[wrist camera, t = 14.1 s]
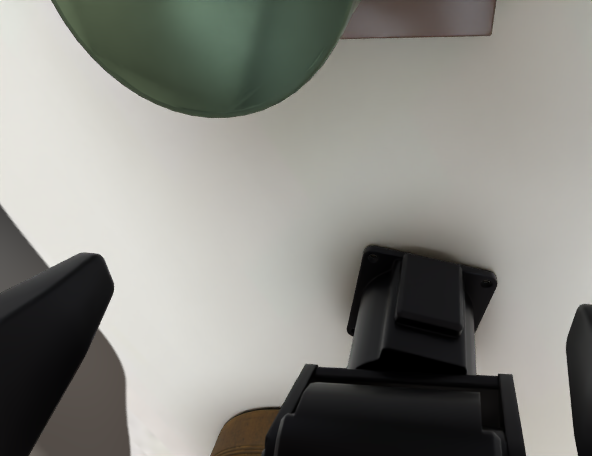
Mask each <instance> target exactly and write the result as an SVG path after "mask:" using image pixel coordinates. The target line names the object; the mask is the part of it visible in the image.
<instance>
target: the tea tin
mask: <svg viewBox="0 0 592 456" xmlns="http://www.w3.org/2000/svg"><path fill="white" fill-rule="evenodd" d="M51 1H52V3H53V4H54V6H55V8H56V9H57V11H58V13H59V15H60V16H61V18H62V20H63V21H64V23H65V24H66V26H67V27H68V28H69V30H70V31H71V33H72V34H73V35H74V37H75V38H76V40H77V41H78V42H79V43H80V44H81V45H82V47H83V48H84V49H85V50H86V51H87V53H88V54H89V55H90V56H91V57H92V58H93V59H94V60H95V61H96V62H97V63H98V64H99V65H100V66H101V67H102V68H103V69H104V70H105V71H106V72H107V73H109V74H110V75H111V76H112V77H114V78H115V79H116V80H117V81H119V82H120V83H121V84H122V85H124V86H125V87H127V88H128V89H130V90H131V91H133V92H135V93H136V94H138V95H139V96H141V97H143V98H145V99H147V100H149V101H151V102H153V103H155V104H157V105H159V106H162V107H164V108H167V109H170V110H172V111H175V112H179V113H183V114H187V115H191V116H199V117H207V118H230V117H237V116H244V115H248V114H252V113H255V112H259V111H262V110H265V109H267V108H269V107H271V106H273V105H276V104H278V103H280V102H281V101H283V100H285V99H286V98H288V97H289V96H291V95H292V94H294V93H295V92H297V91H298V90H299V89H300V88H301V87H302V86H303V85H305V84H306V83H307V82H308V81H309V80H310V79H311V78H312V77H313V76H314V75H315V74H316V72H317V71H318V70H319V69H320V68H321V67H322V65H323V64H324V63H325V61H326V60H327V58H328V57H329V55H330V54H331V52H332V51H333V49H334V48H335V46H336V44H337V43H338V41H339V40H340V38H341V36H342V34H343V32H344V30H345V28H346V26H347V24H348V22H349V20H350V18H351V16H352V14H353V12H354V11H355V9H356V8H357V6H358V5H359V3H360V1H361V0H51Z"/></svg>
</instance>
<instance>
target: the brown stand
mask: <svg viewBox="0 0 592 456" xmlns="http://www.w3.org/2000/svg"><path fill="white" fill-rule="evenodd" d="M495 7H496V0H361V1H360V3H359V5H358V6H357V8H356V9H355V11H354V12H353V14H352V16H351V18H350V20H349V22H348V24H347V26H346V28H345V30H344V32H343V34H342V36H341V38H340V39H368V38H415V37H463V36H490V35H491V34H492V28H493V21H494V14H495Z"/></svg>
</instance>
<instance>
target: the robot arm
mask: <svg viewBox="0 0 592 456" xmlns="http://www.w3.org/2000/svg"><path fill="white" fill-rule="evenodd" d="M370 255H376V256H377V257H371V256H370ZM484 280H488V281H490V282H487V283H486V282H482V281H484ZM496 287H497V278H496V275H495V274H494V273H493V272H490V271H486V270H482V269H477V268H473V267H468V266H464V265H459V264H455V263H450V262H446V261H441V260H437V259H432V258H428V257H423V256H419V255H414V254H410V253H405V252H401V251H396V250H392V249H387V248H383V247H378V246H369V247H367V248H365V250H364V253H363V258H362V262H361V267H360V271H359V276H358V280H357V285H356V290H355V294H354V299H353V303H352V308H351V312H350V317H349V321H348V326H347V332H348V334H350V335H351V336H353V342H352V346H351V351H350V356H349V361H348V366H347V368H331V367H318V365H314V364H305V366H304V368H303V369H302V371H301V373H300V375H299V377H298V378H297V380H296V382H295V383H294V385H293V387H292V389H291V391H290V392H289V394H288V396H287V398H286V400H285V401H284V403H283V405H282V407H281V409H280V410H279V412H278V414H277V416H276V417H275V419H274V421H273V423H272V425H271V427H270V428H269V430H268V432H267V434H266V437H265V449H264V450H263V451H262V454H261V456H526V452H525V446H524V439H523V434H522V428H521V422H520V416H519V410H518V404H517V399H516V393H515V387H514V381H513V375H512V374H498V376H485V375H476V356H475V335H474V334H475V332H476V330H477V328H478V325H479V323H480V321H481V319H482V317H483V315H484V313H485V310H486V308H487V306H488V304H489V302H490V300H491V298H492V296H493V293H494V291H495V289H496ZM113 292H114V282H113V280H112V277H111V275H110V272H109V270H108V267H107V265H106V262H105V260H104V258H103V257H102V256H101V255H99V254H95V253H79V254H77V255H75V256H73V257H71V258H69V259H67V260H65V261H63V262H61V263H59V264H57V265H55V266H53V267H51V268H49V269H47V270H45V271H43V272H41V273H39V274H37V275H35V276H33V277H31V278H29V279H27V280H25V281H23V282H21V283H19V284H17V285H15V286H13V287H11V288H9V289H7V290H5V291H3V292H1V293H0V456H29V454H30V453H31V451H32V449H33V447H34V446H35V444H36V442H37V440H38V439H39V437H40V435H41V433H42V432H43V430H44V428H45V426H46V425H47V423H48V421H49V419H50V418H51V416H52V414H53V412H54V411H55V409H56V407H57V405H58V403H59V402H60V400H61V398H62V397H63V395H64V393H65V391H66V389H67V388H68V386H69V384H70V383H71V381H72V379H73V377H74V375H75V374H76V372H77V370H78V368H79V367H80V365H81V363H82V361H83V359H84V357H85V355H86V353H87V351H88V349H89V347H90V345H91V342H92V340H93V338H94V336H95V334H96V331H97V329H98V327H99V325H100V322H101V320H102V318H103V316H104V313H105V311H106V309H107V307H108V304H109V302H110V300H111V298H112V295H113ZM566 355H567V366H568V376H569V387H570V397H571V408H572V418H573V428H574V436H575V442H576V447H577V452H578V456H592V305H590V304H582V305H580V306H579V307H578V309H577V311H576V314H575V317H574V319H573V322H572V325H571V328H570V331H569V334H568V337H567V342H566Z"/></svg>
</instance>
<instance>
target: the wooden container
mask: <svg viewBox="0 0 592 456" xmlns="http://www.w3.org/2000/svg"><path fill="white" fill-rule="evenodd" d="M279 410H280V409H268V410H256V411H251V412H247V413H244V414H241V415H238V416H236V417H234V418H233V419H231V420H230V421H229V422H227V423H226V424H225V425H224V427H223V428H222V430H221V432H220V434H219V436H218V439H217V441H216V443H215V446H214V448H213V450H212V453H211V455H210V456H261V454H262V451H263V450H264V449H265V437H266V434H267V432H268V430H269V428H270V427H271V425H272V423H273V421H274V419H275V417H276V416H277V414H278V412H279Z"/></svg>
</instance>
